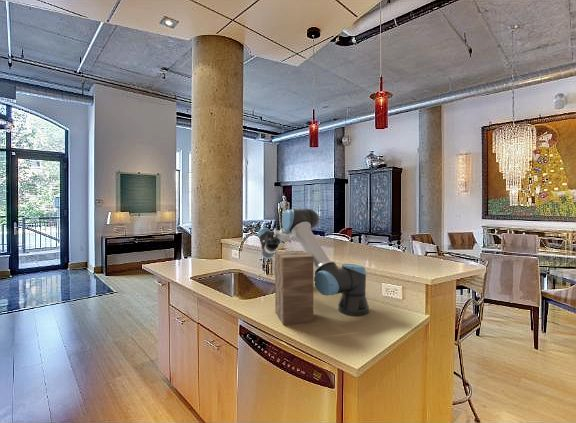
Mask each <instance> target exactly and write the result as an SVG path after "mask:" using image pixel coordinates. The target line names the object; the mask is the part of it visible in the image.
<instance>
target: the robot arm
mask: <svg viewBox="0 0 576 423" xmlns="http://www.w3.org/2000/svg"><path fill="white" fill-rule="evenodd" d="M319 222H320V218H319V215H318V213H317V211H315V210H313V209H310V208H299V209H298V208H297V209H295V208H292V209H286V210H285V211H284V212H283V214H282V217H281V225H282V227H281V228H280V229H279V231H280V232H282V233H285V234H287V235H289V241H290V239H291V238H293V237H295V238H296V239H297V240H298V242H299V243H300V245H301V247H302V249H303V251H304V252H306V253H308V254H310V255H312V256H313V269H314V270H315V271H314V276H313V282H314V286H315V288H316V290H317V291H318V292H319V294H321V295H322V296H326V297H327V296H334V295H338V294H341V296H340V299H339V302H338V304H337V306H338V311H339V312H340V313H342V314H344V315H347V316H348V315H349V316H364V315H367V314H369V312H370V306H369V303H368V299H367V296H366V295H367V294H366V287H367V286H366V285H367V284H366V282H367V274H366V273H367V272H366V267H365V266H364V265H360V264H354V263H343V264H341V267H340V268H339V267H338V265H337V264H336V263H335V262H334V261H331V260H330V258H329V257H328V255H327V254H326V252H325V250H324V249H323V248H322V246H321V244H320V242H319V241H318V239H317V238H316V236H315V234H314V232H313V231H312V230H313V229H315V228H316V227H317V226H318V225H319ZM277 231H278V230H277V227H274V229H273V230H270V229H269V228H268V227H262V228H260V229H259V230H258V231H257V233H258V234H257V235H258V238H259V241H260V246H261V250H262V251H261V255H262V257H263V258H264V259H266V260H269V259H272V258H273V257H274V255H275V252H277V248H278V247H279V245H280V244H285V242H283V241H282V240H280V239H278V238H276V237H275V235H276V233H277Z"/></svg>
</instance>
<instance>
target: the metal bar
mask: <svg viewBox="0 0 576 423" xmlns="http://www.w3.org/2000/svg"><path fill="white" fill-rule="evenodd" d="M276 231H277V233H276V235H275V237H276V238H278V239H280V240H282V241H283V242H284V243H285V242H290V240H289V235H287V234H285V233H282V232H280V230H276Z"/></svg>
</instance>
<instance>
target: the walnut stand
mask: <svg viewBox="0 0 576 423" xmlns="http://www.w3.org/2000/svg"><path fill="white" fill-rule="evenodd" d="M274 255H275V256H274V258H275V259H274V260H275V261H274V262H275V263H274V264H275V265H274V266H275V268H274V270H275V271H274V274H275V275H274V276H275V279H274V280H275V283H274V285H275V292H274V293H275V296H274V297H275V299H274V301H275V302H274V306H275V309H274V310H275V312H274V313H275V314H276V316H277V318H278V319H279V321H280V322H281V324H282V325H283V326H290V325H299V324H308V323H309V324H310V323H314V267H313V256H312V255H310V254H308V253H306V252H305V251H304V250H296V251H295V250H285V251H275V253H274Z"/></svg>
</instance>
